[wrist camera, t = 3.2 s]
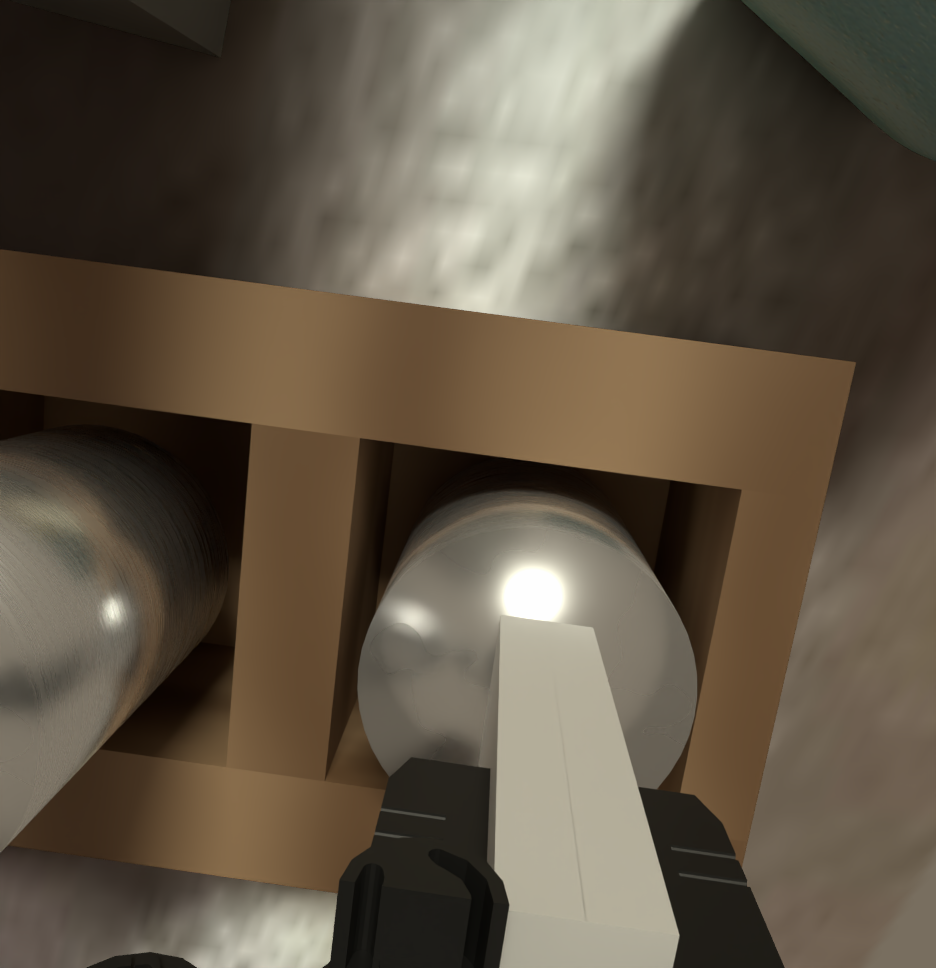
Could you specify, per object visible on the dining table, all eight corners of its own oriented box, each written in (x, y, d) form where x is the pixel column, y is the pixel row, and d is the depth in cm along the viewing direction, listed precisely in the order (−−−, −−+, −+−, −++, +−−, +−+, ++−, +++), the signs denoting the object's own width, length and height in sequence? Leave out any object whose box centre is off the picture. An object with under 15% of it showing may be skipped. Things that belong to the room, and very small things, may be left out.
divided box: (-315, 644, 23) (-601, 757, 17) (-348, 205, 20) (-696, 157, 14) (665, 783, 22) (723, 948, 16) (751, 350, 20) (855, 362, 14)
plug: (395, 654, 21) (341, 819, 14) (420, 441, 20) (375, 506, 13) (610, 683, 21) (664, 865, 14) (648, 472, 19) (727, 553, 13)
